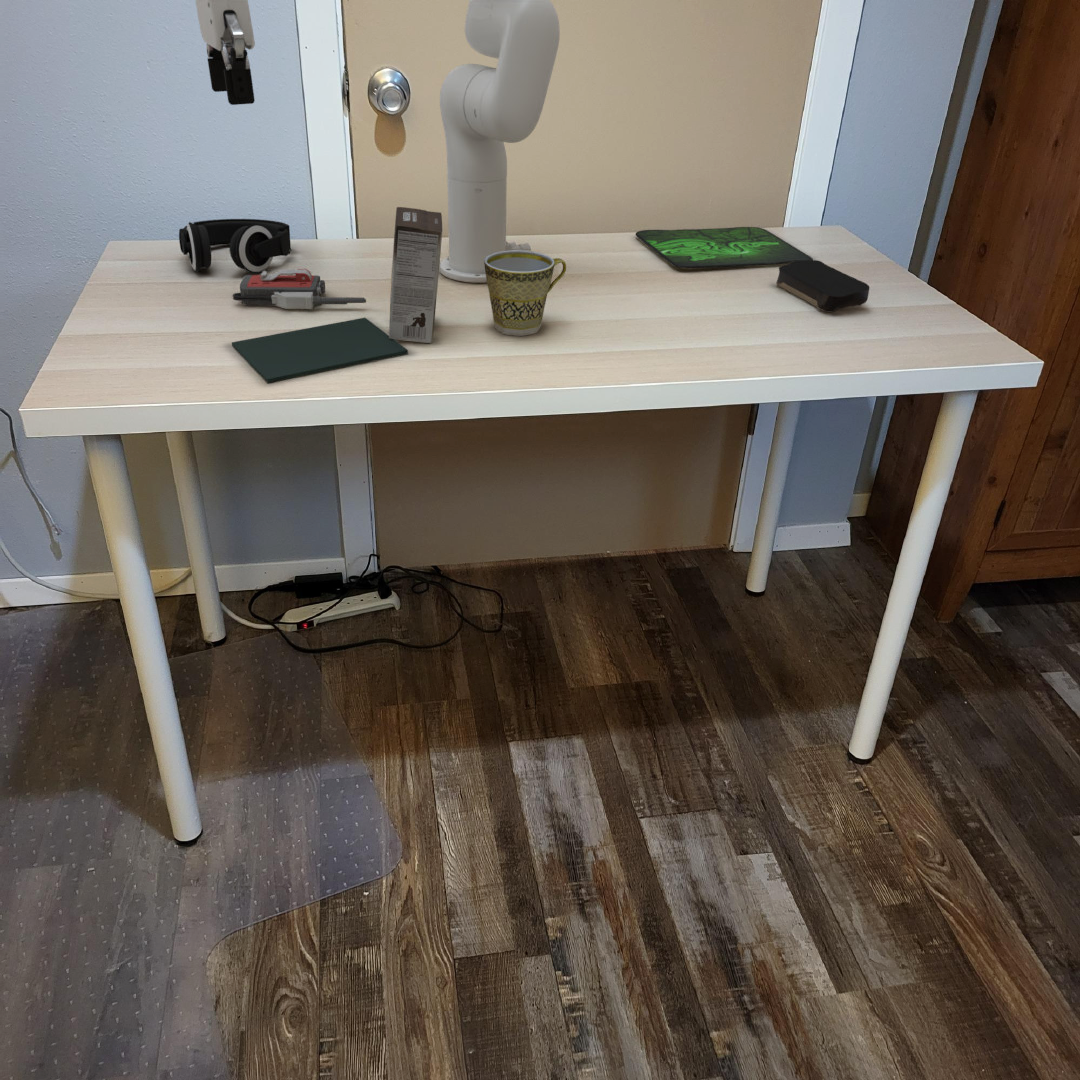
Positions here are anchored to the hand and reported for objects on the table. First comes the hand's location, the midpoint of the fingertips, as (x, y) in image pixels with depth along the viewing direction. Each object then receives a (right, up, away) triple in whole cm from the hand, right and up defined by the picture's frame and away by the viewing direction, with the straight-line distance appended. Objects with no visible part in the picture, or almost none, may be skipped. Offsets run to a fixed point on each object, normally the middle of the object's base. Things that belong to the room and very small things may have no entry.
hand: (233, 97), depth 128 cm
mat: (+10, -32, +7) cm, 34 cm away
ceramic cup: (+38, -26, +17) cm, 49 cm away
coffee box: (+21, -28, +14) cm, 38 cm away
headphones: (-11, -10, +39) cm, 41 cm away
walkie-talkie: (+4, -21, +23) cm, 31 cm away
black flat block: (+86, -18, +32) cm, 93 cm away
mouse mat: (+74, -5, +52) cm, 90 cm away
